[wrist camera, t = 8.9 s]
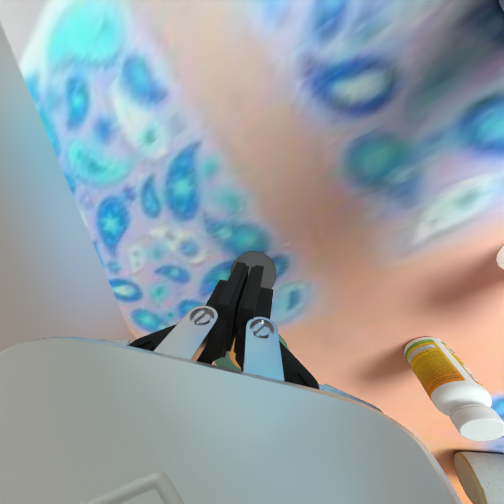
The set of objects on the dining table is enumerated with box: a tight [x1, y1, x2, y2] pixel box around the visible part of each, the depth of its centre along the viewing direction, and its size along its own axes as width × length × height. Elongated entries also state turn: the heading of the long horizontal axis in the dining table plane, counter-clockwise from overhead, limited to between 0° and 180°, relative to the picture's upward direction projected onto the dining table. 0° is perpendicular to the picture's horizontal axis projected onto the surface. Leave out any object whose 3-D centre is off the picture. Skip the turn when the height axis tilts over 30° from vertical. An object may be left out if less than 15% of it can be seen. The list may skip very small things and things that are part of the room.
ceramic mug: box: [454, 451, 504, 504], centre depth 34 cm, size 11×8×8 cm
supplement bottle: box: [404, 337, 504, 441], centre depth 25 cm, size 5×5×10 cm
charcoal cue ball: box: [231, 251, 276, 289], centre depth 25 cm, size 6×6×6 cm
